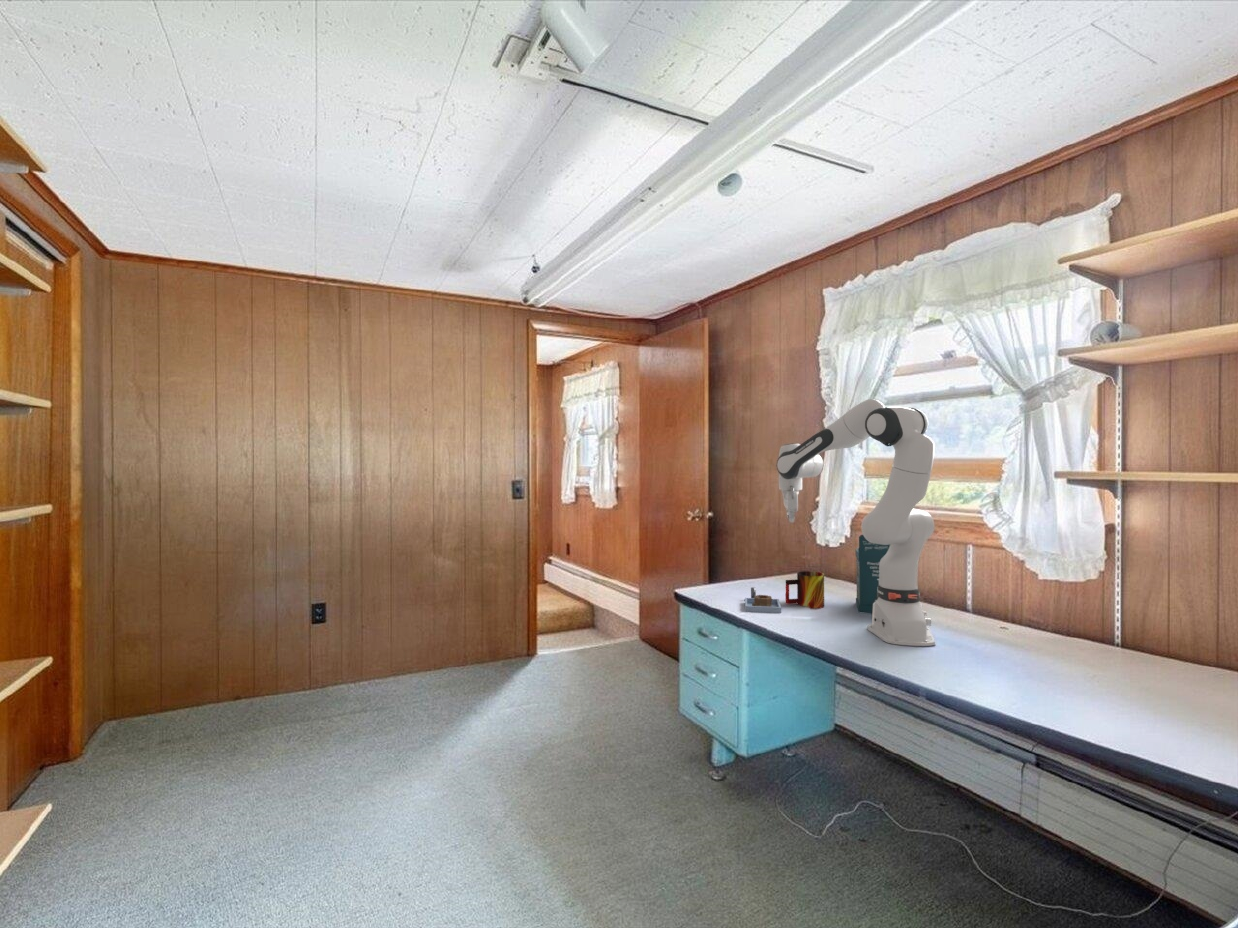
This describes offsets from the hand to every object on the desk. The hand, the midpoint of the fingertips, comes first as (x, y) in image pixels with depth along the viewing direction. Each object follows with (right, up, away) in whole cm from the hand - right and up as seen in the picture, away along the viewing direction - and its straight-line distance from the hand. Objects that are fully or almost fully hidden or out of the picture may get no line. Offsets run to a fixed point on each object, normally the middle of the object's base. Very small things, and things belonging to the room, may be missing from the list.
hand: (790, 520), depth 225 cm
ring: (-14, -31, -12) cm, 36 cm away
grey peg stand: (-15, -31, -1) cm, 35 cm away
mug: (+4, -31, -8) cm, 33 cm away
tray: (-14, -31, -11) cm, 36 cm away
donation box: (+30, -31, -12) cm, 45 cm away
